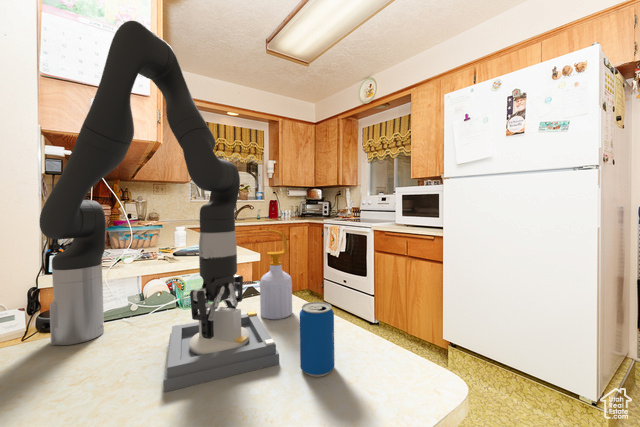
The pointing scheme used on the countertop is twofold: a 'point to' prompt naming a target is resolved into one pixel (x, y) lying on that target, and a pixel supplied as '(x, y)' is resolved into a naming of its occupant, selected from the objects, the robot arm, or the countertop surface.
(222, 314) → the dial knob
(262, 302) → the soap bottle
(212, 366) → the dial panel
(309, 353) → the beverage can
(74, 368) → the countertop surface
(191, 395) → the countertop surface
